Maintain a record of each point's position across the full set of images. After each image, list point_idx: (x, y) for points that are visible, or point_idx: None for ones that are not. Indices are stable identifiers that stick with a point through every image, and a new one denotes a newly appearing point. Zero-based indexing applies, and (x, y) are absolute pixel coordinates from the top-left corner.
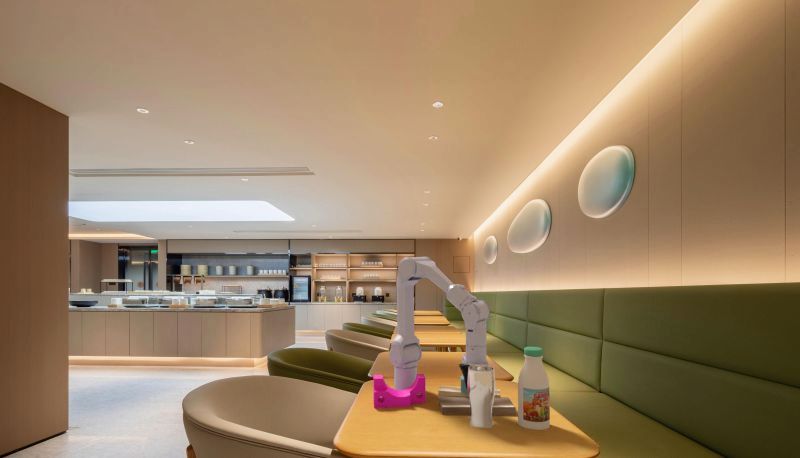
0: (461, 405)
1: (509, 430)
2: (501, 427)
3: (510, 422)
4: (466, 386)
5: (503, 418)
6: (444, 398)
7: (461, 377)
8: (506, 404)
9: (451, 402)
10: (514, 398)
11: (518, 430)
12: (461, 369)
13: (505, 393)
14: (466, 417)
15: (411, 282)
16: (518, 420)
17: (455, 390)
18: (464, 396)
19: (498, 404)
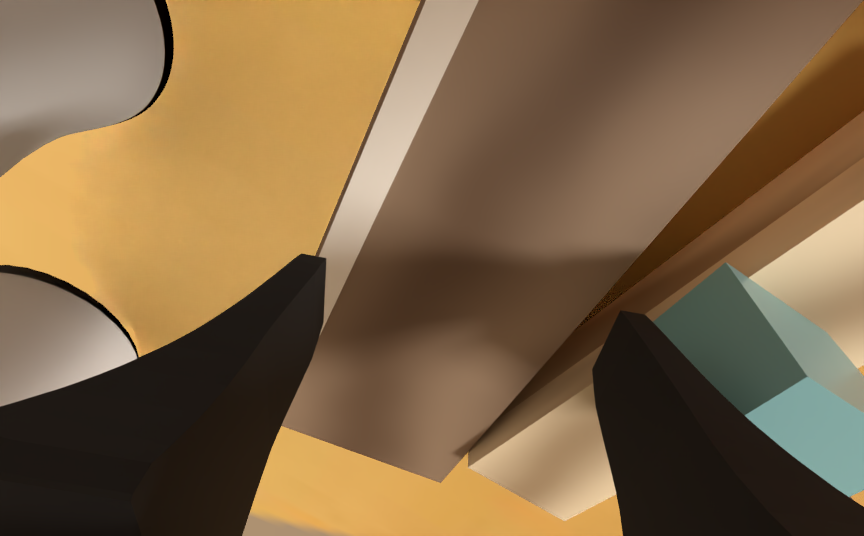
0: (445, 66)
1: (4, 188)
2: (63, 172)
3: (151, 279)
4: (638, 328)
5: (230, 285)
6: (792, 13)
7: (861, 424)
8: (321, 405)
9: (608, 14)
10: (509, 508)
11: (6, 239)
12: (849, 518)
13: (608, 521)
14: (335, 29)
15: None
16: (18, 298)
17: (839, 264)
18: (698, 278)
19: (339, 367)
